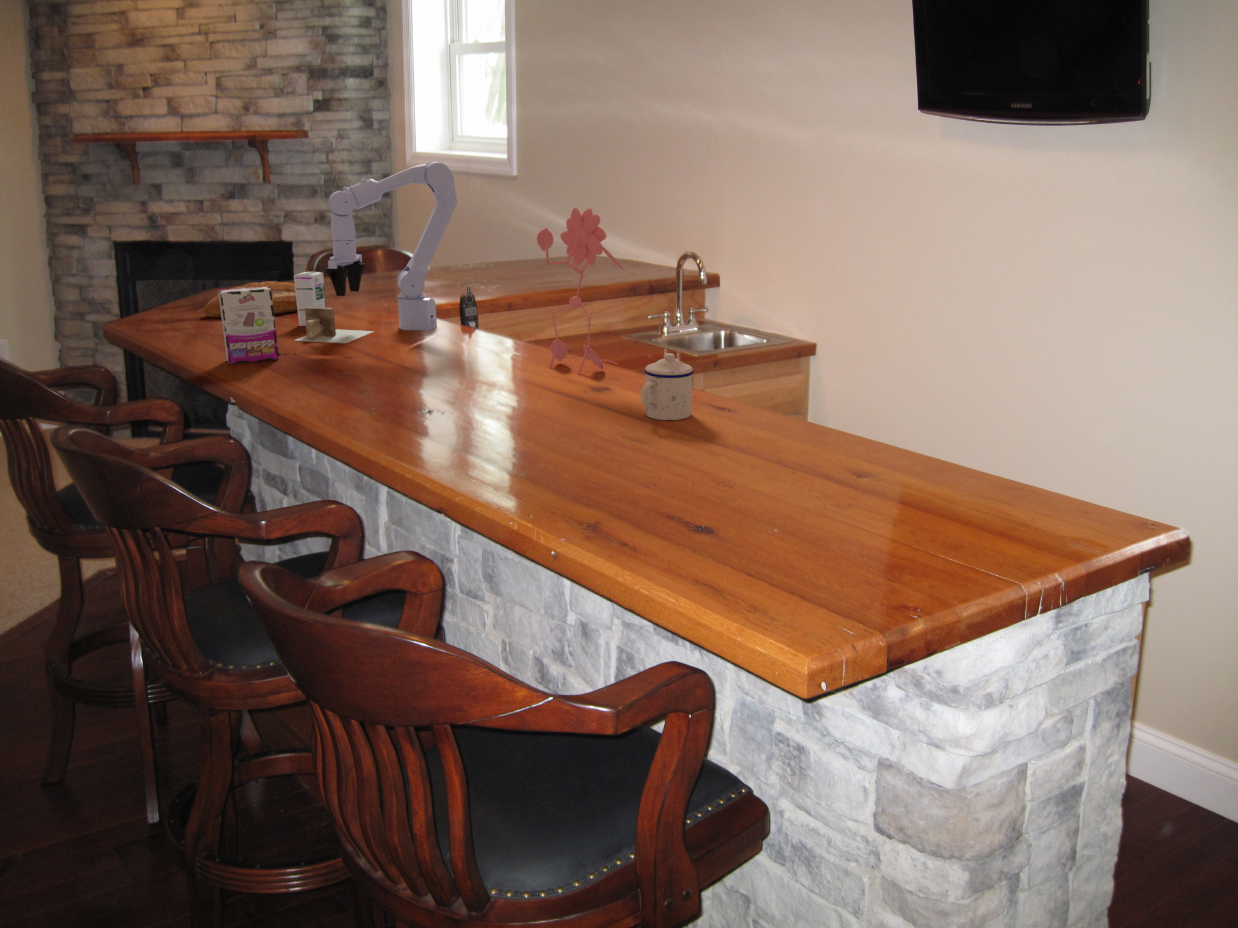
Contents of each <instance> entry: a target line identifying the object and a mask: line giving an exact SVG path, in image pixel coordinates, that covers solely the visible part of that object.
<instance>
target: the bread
mask: <svg viewBox="0 0 1238 928" xmlns="http://www.w3.org/2000/svg"><path fill="white" fill-rule="evenodd" d="M255 287H269V288H270V289H271V293H272V302H273V310H274V316H275V315H281V314H286V313H287V314H288V313H293V312H298V310H297V301H296V292H295V283H292V282H287V281H282V282H281V281H277V280H272V281H271V280H270V281H269V280H267V281H261V282H257V281H255V282H250V283H249V282H248V283H245V284H243V285H241V286H240V285H239V286H235V287H231V289H241V288H255ZM202 311H203V313H202V315H204V316H206V317H209V318H213V319H214V318H216V319H217V318H219V319H220V318H221V310H220V302H219V295H218V294H217V295H215V296H214V297H213V298H212V299H210V300H209V301H208V302H207V304H205V306H204V308H203V310H202ZM221 319H222V318H221Z"/></svg>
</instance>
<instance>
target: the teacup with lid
mask: <svg viewBox="0 0 1238 928" xmlns="http://www.w3.org/2000/svg"><path fill="white" fill-rule="evenodd" d="M675 357H676V356H675V354H674V353H669V352H668V353H664V354H663V358H661V359H659V360H657V361H656V362H653V363H650V364H648V365H646V366H645V368H644V373H645V384H643V386H642V387H641V390H640V398H641V402H642V404H643V406H644V413H645V415H646V417H648V418H649V419H652V420H653V419H654V420H659V421H666V420H673V421H681V419H682V420H684V419H687V418H689V417H690V416H691V415H692V391H693V390H692V389H693V374H694V369H693V367H692V366H691V365H689V364H687V363H684V362H682V361H681V360H679V359H677V358H675Z"/></svg>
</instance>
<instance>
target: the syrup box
mask: <svg viewBox="0 0 1238 928" xmlns="http://www.w3.org/2000/svg"><path fill="white" fill-rule="evenodd" d="M324 279H325V278H324V272H322V271H304V272H301V273H297V274H294V275H293V280H294V284H295V292H296V301H297V310H298V311H297V317H298V318H297V319H298V326H300V327H301V326H302V327H306V316H305V308H306V307H322V308H328V307H327V298H326V288H325V280H324Z"/></svg>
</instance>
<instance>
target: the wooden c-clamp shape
mask: <svg viewBox="0 0 1238 928" xmlns="http://www.w3.org/2000/svg"><path fill="white" fill-rule="evenodd" d="M305 316H306V321H308V320H311V319H319V320H320V324H324V327H325V336H328V337H333V336H336V331H335V329H336V321H335V309H334V307H327V308H322V307H306V308H305Z"/></svg>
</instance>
